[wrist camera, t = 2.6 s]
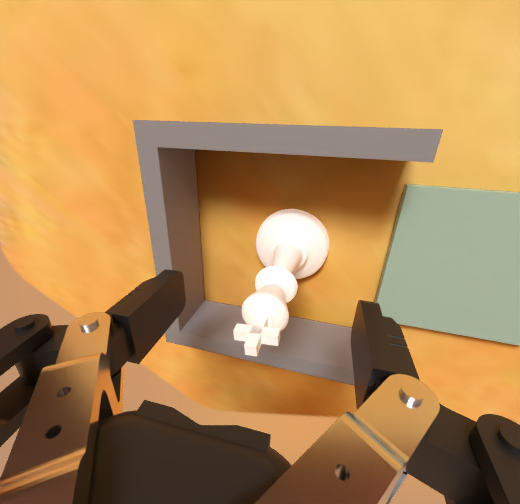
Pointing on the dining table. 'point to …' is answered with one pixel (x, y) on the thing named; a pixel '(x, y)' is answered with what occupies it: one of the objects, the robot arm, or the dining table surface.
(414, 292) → the mat
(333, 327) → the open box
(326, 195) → the dining table surface
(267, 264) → the chess piece
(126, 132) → the dining table surface
